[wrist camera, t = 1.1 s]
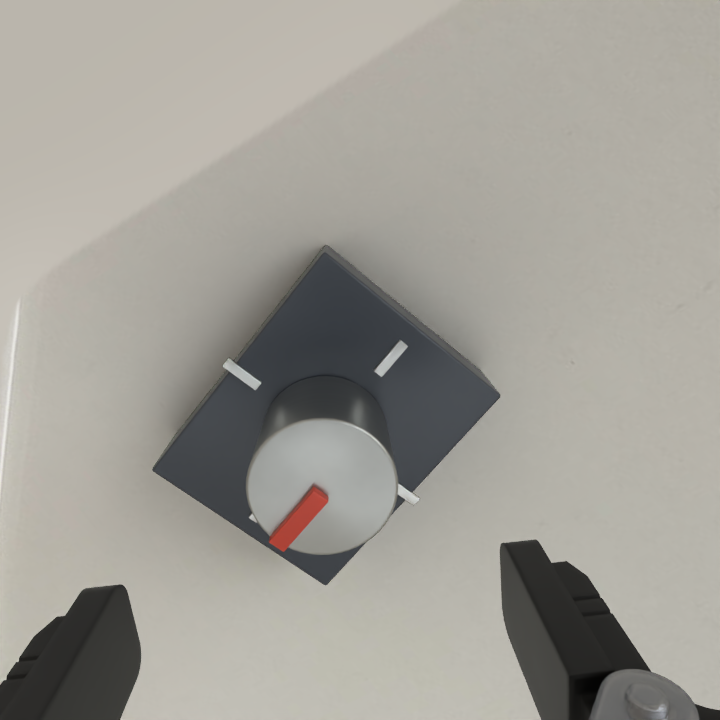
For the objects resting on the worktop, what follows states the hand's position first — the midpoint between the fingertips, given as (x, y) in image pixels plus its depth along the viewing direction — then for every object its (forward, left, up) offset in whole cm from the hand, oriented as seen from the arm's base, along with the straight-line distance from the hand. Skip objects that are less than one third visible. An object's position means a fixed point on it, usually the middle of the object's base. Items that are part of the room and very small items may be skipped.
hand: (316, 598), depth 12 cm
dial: (0, 0, -8) cm, 8 cm away
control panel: (0, 0, -12) cm, 12 cm away
